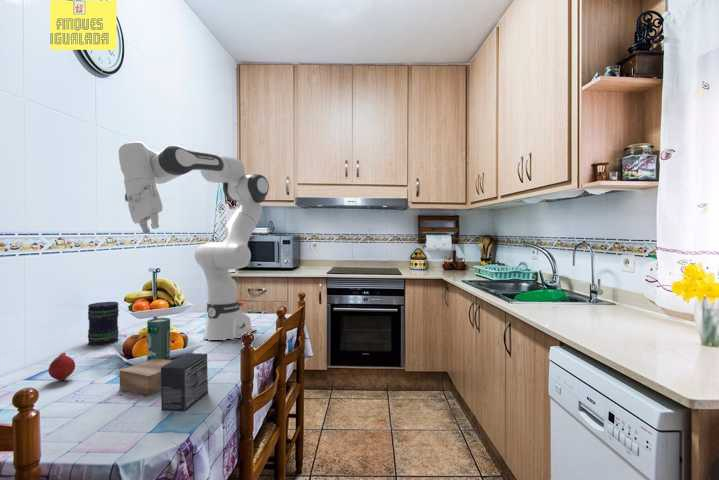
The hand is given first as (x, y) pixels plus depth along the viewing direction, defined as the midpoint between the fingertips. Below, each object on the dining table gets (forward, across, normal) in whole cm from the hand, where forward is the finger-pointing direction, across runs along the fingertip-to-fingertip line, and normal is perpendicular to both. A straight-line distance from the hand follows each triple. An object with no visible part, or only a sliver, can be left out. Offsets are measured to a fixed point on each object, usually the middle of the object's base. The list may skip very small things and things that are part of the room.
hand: (151, 231), depth 120 cm
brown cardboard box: (+45, -14, +13) cm, 49 cm away
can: (+44, -2, +7) cm, 44 cm away
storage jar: (+35, +44, +12) cm, 57 cm away
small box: (+48, -31, +11) cm, 59 cm away
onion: (+39, +6, +29) cm, 49 cm away
